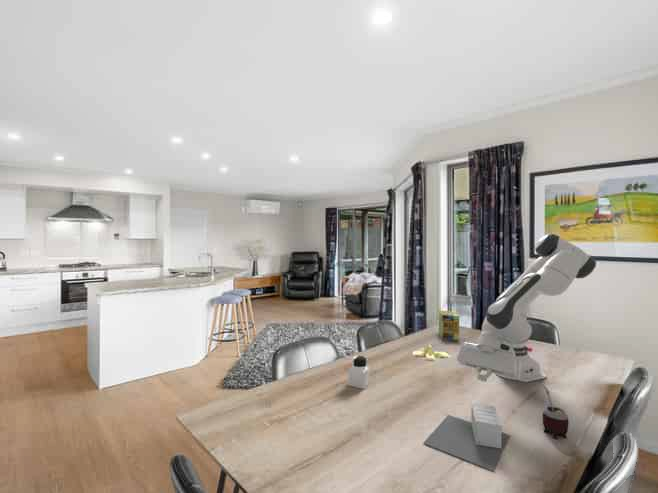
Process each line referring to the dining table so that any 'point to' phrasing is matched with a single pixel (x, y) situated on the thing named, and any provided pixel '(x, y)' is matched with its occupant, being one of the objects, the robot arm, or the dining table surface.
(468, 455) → the mat
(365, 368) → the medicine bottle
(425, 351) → the banana bunch
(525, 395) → the dining table surface
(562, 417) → the mate gourd
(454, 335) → the protein box
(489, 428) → the supplement box
